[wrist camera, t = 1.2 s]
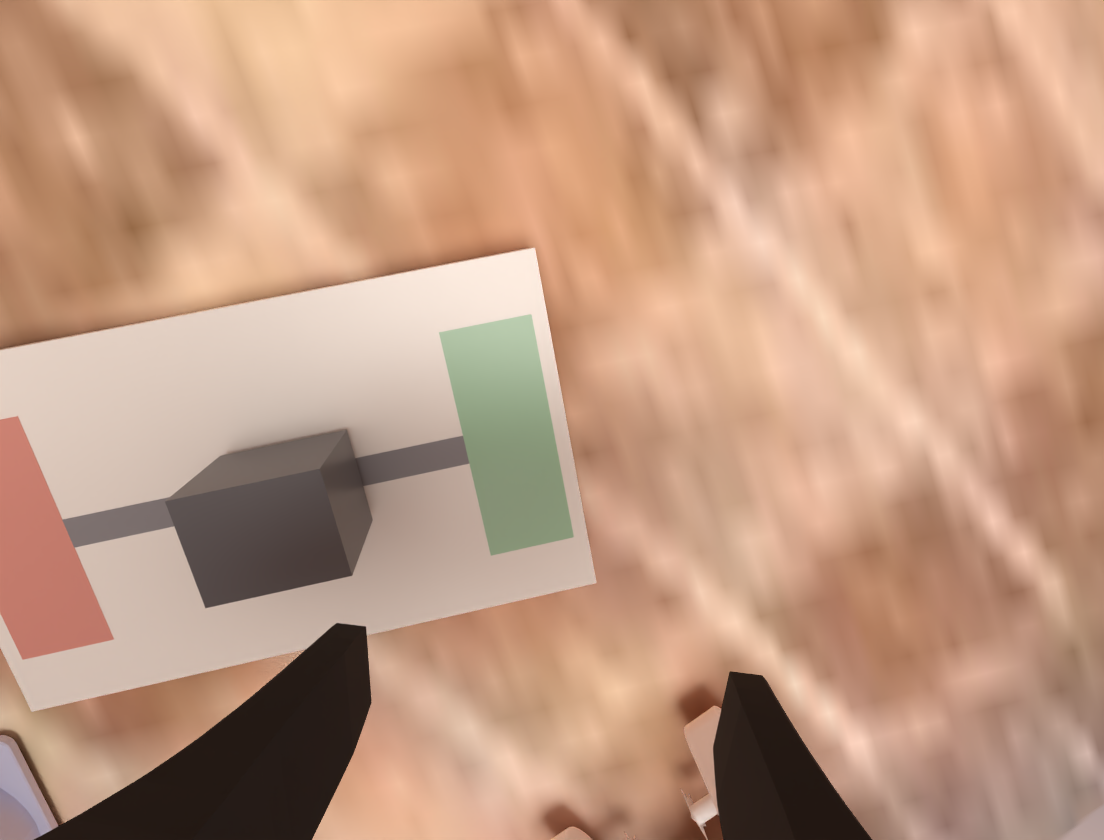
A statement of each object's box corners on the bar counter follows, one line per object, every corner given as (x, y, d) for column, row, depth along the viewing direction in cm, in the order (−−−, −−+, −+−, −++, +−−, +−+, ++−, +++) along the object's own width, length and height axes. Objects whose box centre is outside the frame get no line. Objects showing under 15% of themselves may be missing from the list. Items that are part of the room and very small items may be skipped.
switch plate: (74, 666, 25) (31, 712, 22) (-65, 361, 21) (-134, 376, 19) (585, 551, 26) (596, 583, 23) (528, 247, 23) (534, 247, 20)
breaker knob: (251, 546, 21) (205, 608, 17) (220, 455, 20) (164, 501, 17) (372, 520, 21) (352, 575, 18) (347, 429, 20) (319, 468, 17)
